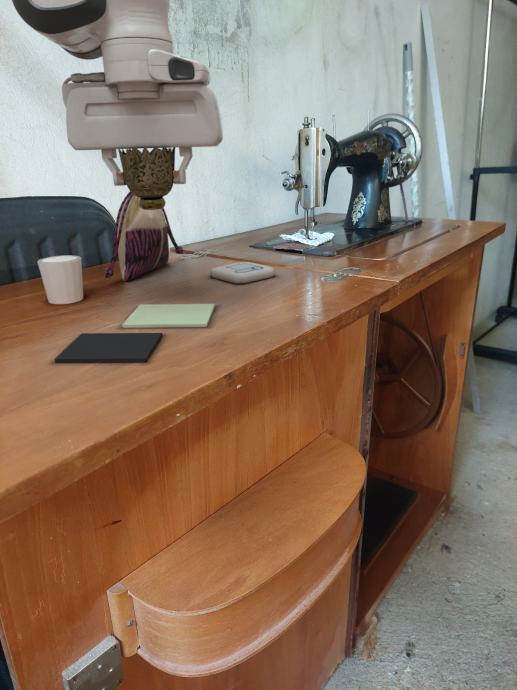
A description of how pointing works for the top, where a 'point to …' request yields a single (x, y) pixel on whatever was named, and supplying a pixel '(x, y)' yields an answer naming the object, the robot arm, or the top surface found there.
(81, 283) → the white tapered cup
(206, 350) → the top surface
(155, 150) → the cup
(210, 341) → the top surface
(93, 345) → the charcoal mat
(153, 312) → the sage mat
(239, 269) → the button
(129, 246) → the pouch
